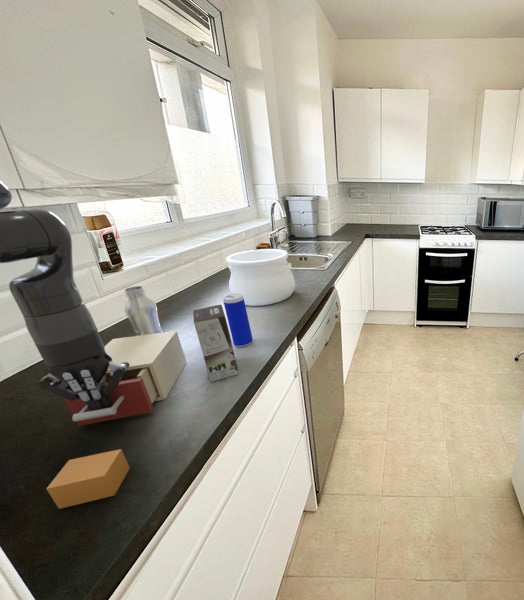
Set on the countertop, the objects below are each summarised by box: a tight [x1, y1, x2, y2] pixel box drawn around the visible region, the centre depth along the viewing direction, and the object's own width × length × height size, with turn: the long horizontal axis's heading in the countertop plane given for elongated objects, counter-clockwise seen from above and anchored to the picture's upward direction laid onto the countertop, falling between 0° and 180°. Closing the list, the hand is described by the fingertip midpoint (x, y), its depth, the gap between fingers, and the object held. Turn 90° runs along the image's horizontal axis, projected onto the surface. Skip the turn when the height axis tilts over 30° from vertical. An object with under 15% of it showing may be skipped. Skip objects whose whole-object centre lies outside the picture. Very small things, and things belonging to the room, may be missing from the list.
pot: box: [225, 248, 296, 307], centre depth 125 cm, size 26×24×18 cm
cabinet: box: [104, 330, 187, 402], centre depth 73 cm, size 16×14×10 cm
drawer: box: [63, 367, 159, 427], centre depth 66 cm, size 19×12×8 cm, turn 17°
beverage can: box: [223, 293, 254, 348], centre depth 90 cm, size 5×5×15 cm
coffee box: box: [192, 304, 239, 383], centre depth 77 cm, size 9×6×16 cm
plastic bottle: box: [124, 285, 164, 336], centre depth 83 cm, size 6×7×20 cm
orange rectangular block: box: [46, 448, 131, 510], centre depth 49 cm, size 7×5×4 cm
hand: (103, 412), depth 60 cm, fingers closed
